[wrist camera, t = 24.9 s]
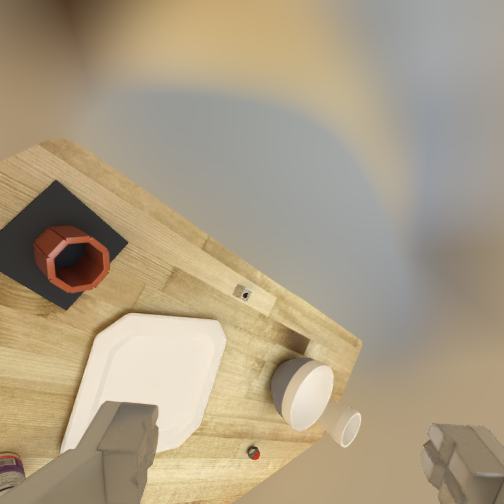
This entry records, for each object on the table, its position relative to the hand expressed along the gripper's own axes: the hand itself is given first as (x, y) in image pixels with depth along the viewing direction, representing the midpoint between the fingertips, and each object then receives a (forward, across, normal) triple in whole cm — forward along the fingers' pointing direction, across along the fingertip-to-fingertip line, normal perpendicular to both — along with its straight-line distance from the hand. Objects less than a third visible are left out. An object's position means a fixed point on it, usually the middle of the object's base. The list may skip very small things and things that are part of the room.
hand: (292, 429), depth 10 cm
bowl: (+60, -10, +46) cm, 76 cm away
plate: (+38, +16, +31) cm, 52 cm away
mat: (+32, +25, +6) cm, 41 cm away
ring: (+52, -3, +61) cm, 80 cm away
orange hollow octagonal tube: (+31, +25, +6) cm, 41 cm away
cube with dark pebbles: (+51, +2, +19) cm, 55 cm away
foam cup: (+68, -21, +60) cm, 93 cm away
